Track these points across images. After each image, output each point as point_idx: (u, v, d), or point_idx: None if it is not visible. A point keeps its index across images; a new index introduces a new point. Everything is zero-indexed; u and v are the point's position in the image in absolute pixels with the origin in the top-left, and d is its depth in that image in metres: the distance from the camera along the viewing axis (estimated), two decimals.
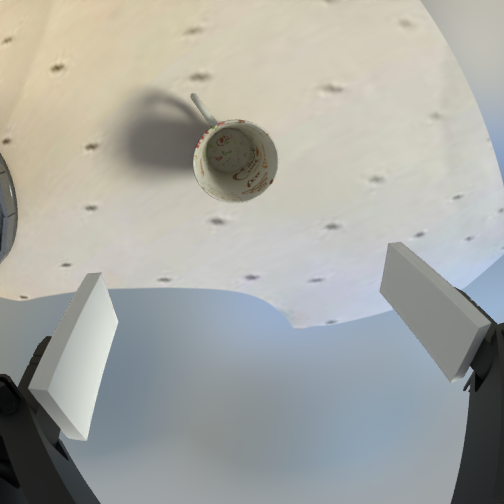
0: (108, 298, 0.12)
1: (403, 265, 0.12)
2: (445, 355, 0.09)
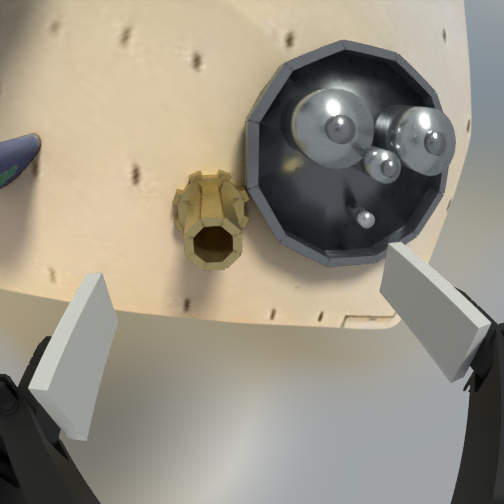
0: (108, 298, 0.12)
1: (403, 265, 0.12)
2: (445, 355, 0.09)
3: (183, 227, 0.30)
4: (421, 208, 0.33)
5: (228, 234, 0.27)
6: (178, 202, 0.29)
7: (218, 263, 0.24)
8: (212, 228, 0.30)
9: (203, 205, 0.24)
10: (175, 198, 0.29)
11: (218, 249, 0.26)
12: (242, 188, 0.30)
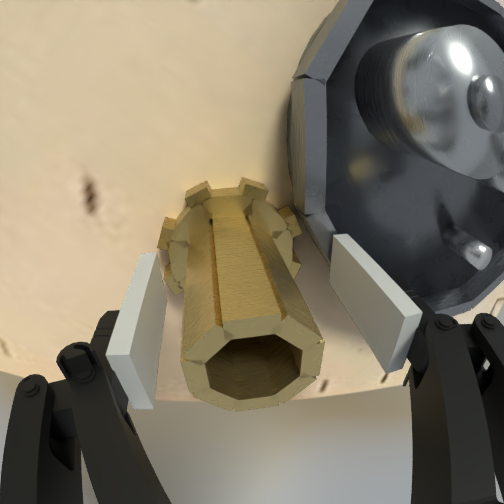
0: (161, 277, 0.14)
1: (344, 255, 0.13)
2: (380, 345, 0.10)
3: (182, 287, 0.17)
4: None
5: None
6: (168, 244, 0.15)
7: (267, 398, 0.10)
8: None
9: (221, 267, 0.11)
10: (162, 237, 0.15)
11: (258, 353, 0.12)
12: (287, 211, 0.16)
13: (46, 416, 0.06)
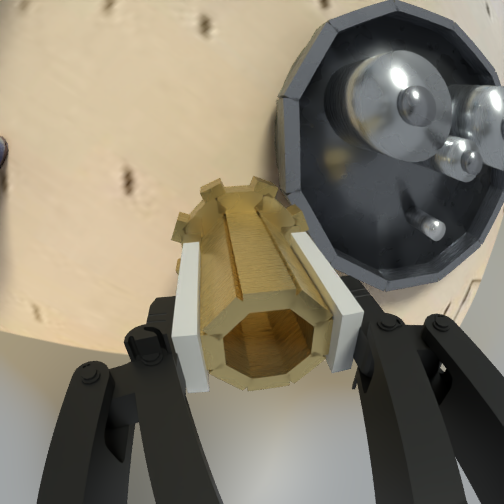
0: None
1: (298, 253, 0.14)
2: None
3: None
4: (484, 211, 0.24)
5: None
6: (182, 237, 0.16)
7: (278, 377, 0.11)
8: None
9: (238, 252, 0.11)
10: (176, 230, 0.16)
11: (269, 337, 0.12)
12: (295, 208, 0.17)
13: (105, 406, 0.06)
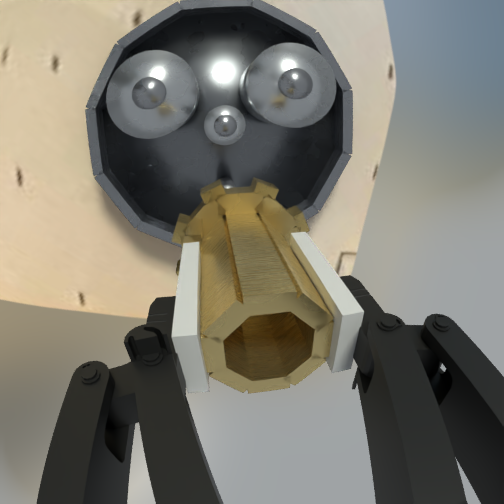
0: None
1: (298, 253, 0.14)
2: None
3: None
4: (323, 176, 0.29)
5: None
6: (182, 238, 0.16)
7: (279, 379, 0.10)
8: None
9: (238, 254, 0.11)
10: (177, 231, 0.16)
11: (270, 339, 0.12)
12: (296, 210, 0.17)
13: (105, 406, 0.06)
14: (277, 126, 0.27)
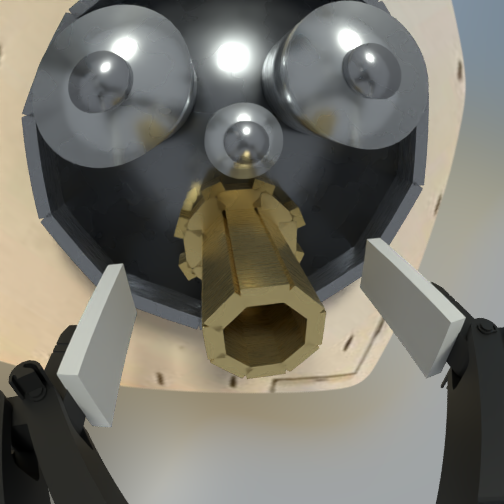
0: (128, 289, 0.13)
1: (380, 260, 0.13)
2: (420, 350, 0.10)
3: (195, 273, 0.18)
4: (381, 216, 0.19)
5: None
6: (184, 233, 0.17)
7: (275, 365, 0.11)
8: None
9: (236, 249, 0.12)
10: (179, 226, 0.17)
11: (267, 328, 0.13)
12: (292, 204, 0.18)
13: (6, 428, 0.05)
14: (319, 139, 0.17)
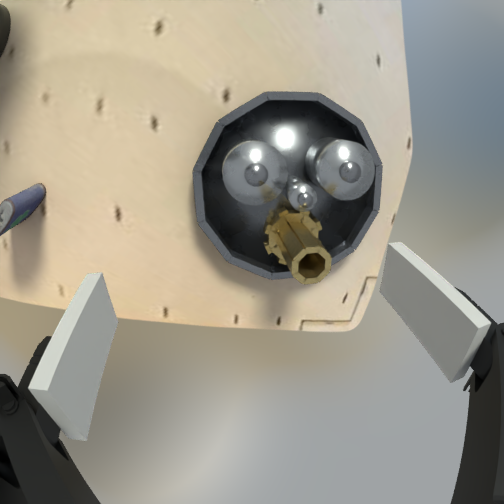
0: (108, 298, 0.12)
1: (403, 265, 0.12)
2: (445, 355, 0.09)
3: (272, 251, 0.40)
4: (358, 225, 0.40)
5: (314, 256, 0.36)
6: (269, 232, 0.39)
7: (314, 278, 0.33)
8: None
9: (299, 236, 0.34)
10: (267, 229, 0.38)
11: (309, 268, 0.35)
12: (316, 220, 0.39)
13: None
14: None
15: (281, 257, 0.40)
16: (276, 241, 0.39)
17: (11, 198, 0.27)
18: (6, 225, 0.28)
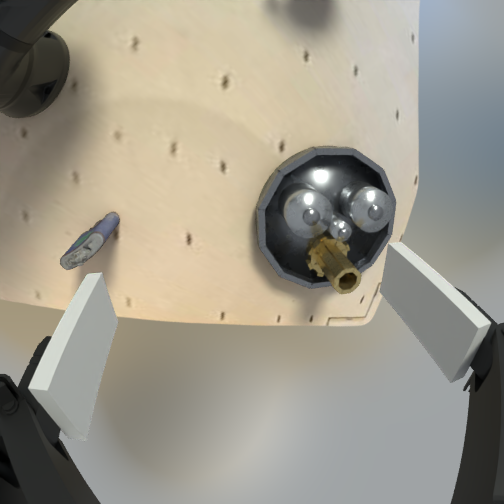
0: (108, 298, 0.12)
1: (403, 265, 0.12)
2: (445, 355, 0.09)
3: (313, 267, 0.51)
4: (375, 245, 0.52)
5: (346, 272, 0.47)
6: (312, 253, 0.50)
7: (348, 290, 0.45)
8: None
9: (338, 259, 0.45)
10: (310, 251, 0.50)
11: (343, 281, 0.47)
12: (345, 243, 0.51)
13: None
14: None
15: (319, 271, 0.52)
16: (316, 260, 0.51)
17: (100, 230, 0.38)
18: (94, 253, 0.39)
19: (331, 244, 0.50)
